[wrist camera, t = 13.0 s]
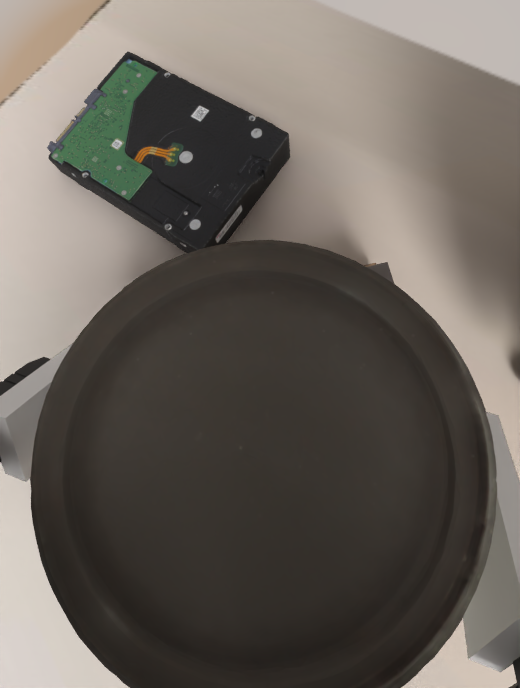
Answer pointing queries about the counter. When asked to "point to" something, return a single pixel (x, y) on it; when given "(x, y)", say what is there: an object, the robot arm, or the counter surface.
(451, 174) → the counter surface
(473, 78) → the counter surface
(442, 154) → the counter surface
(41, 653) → the counter surface
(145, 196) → the disk drive
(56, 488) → the coffee can
